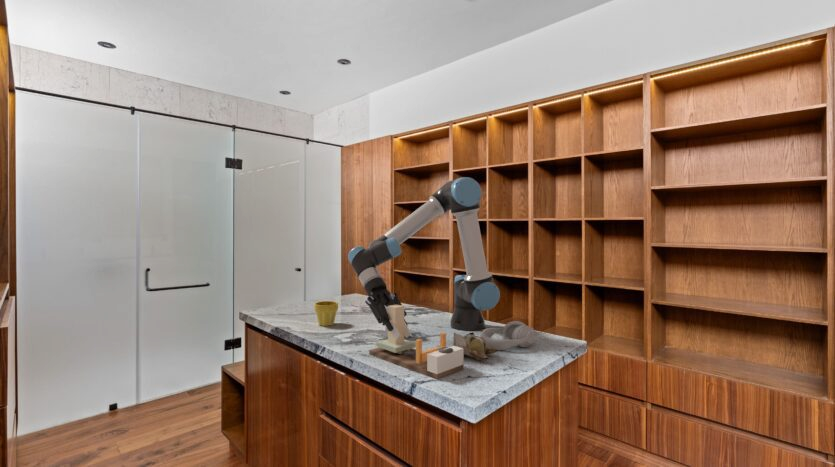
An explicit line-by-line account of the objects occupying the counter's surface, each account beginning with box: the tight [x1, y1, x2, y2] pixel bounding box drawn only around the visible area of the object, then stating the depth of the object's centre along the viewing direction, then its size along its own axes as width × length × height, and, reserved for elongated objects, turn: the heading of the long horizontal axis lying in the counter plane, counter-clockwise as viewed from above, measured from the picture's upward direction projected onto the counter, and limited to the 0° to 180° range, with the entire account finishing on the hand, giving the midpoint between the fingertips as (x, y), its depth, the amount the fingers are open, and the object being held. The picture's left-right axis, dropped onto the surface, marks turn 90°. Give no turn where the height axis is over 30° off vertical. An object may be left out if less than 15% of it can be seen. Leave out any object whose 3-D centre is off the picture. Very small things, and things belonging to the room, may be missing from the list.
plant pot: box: [314, 300, 339, 327], centre depth 182 cm, size 10×10×10 cm
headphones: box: [480, 320, 536, 351], centre depth 152 cm, size 18×8×20 cm
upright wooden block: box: [376, 304, 416, 354], centre depth 138 cm, size 10×9×15 cm
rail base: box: [368, 347, 464, 380], centre depth 132 cm, size 32×12×2 cm, turn 44°
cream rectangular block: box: [427, 345, 464, 374], centre depth 122 cm, size 4×12×6 cm, turn 134°
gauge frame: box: [415, 332, 447, 364], centre depth 126 cm, size 1×12×7 cm, turn 135°
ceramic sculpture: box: [453, 332, 500, 361], centre depth 137 cm, size 11×9×15 cm
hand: (403, 336), depth 136 cm, fingers closed on upright wooden block, 4 cm apart
